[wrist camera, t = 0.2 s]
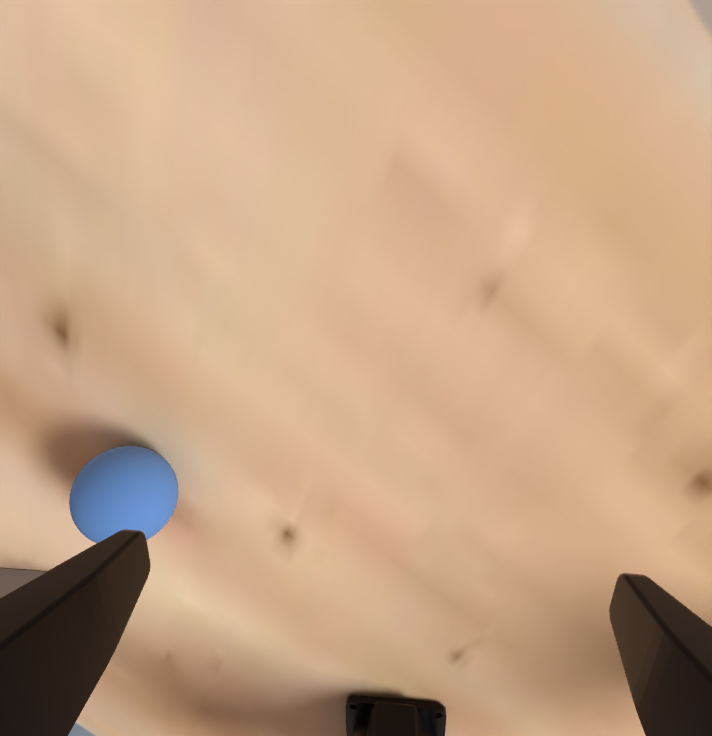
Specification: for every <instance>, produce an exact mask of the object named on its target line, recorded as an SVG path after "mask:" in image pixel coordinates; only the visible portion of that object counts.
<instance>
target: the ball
mask: <svg viewBox="0 0 712 736" xmlns="http://www.w3.org/2000/svg"><path fill="white" fill-rule="evenodd" d="M177 499H178V483H177V479H176V475H175V473H174V471H173V469H172V467H171V466H170V464H169V463H168V462H167V461H166V460H165V459H164V458H163V457H162V456H160V455H159V454H157V453H156V452H154V451H152V450H150V449H147V448H143V447H138V446H122V447H116V448H113V449H110V450H107V451H105V452H103V453H101V454H99V455H97V456H96V457H94V458H93V459H92V460H90V461H89V462H88V463H87V464H86V465H85V466H84V467H83V468H82V470H81V471H80V472H79V474H78V475H77V477H76V479H75V481H74V483H73V485H72V489H71V493H70V501H69V504H70V512H71V516H72V519H73V521H74V523H75V525H76V526H77V528H78V529H79V530H80V532H81V533H82V534H83V535H84V536H86V537H87V538H88V539H90V540H92V541H93V542H95V543H99V542H100V541H102V540H104V539H106V538H108V537H109V536H111V535H113V534H115V533H116V532H118V531H120V530H124V529H128V530H140V531H142V532H143V533H144V534H145V536H146V540H147V539H149V538H150V537H152V536H154V535H155V534H156V533H157V532H159V531H160V530H161V529H162V528H163V527H164V525H165V524H166V523H167V522H168V520H169V519H170V517H171V516H172V514H173V512H174V509H175V507H176V503H177Z"/></svg>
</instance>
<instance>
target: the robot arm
mask: <svg viewBox="0 0 712 736" xmlns="http://www.w3.org/2000/svg"><path fill="white" fill-rule="evenodd" d="M149 572H150V558H149V552H148V546H147V541H146V536H145V534H144V533H143V532H142V531H140V530H128V529H124V530H120V531H118V532H116V533H115V534H113V535H111V536H109V537H108V538H106V539H104V540H102V541H100V542H99V543H97V544H95V545H93V546H92V547H90V548H88V549H86V550H85V551H83V552H81V553H79V554H77V555H76V556H74V557H72V558H70V559H69V560H67V561H65V562H63V563H61V564H60V565H58V566H56V567H54V568H53V569H51V570H49V571H47V572H45V573H44V574H42V575H40V576H38V577H37V578H35V579H33V580H31V581H29V582H28V583H26V584H24V585H22V586H21V587H19V588H17V589H15V590H14V591H12V592H10V593H8V594H6V595H5V596H3V597H1V598H0V736H68V734H69V732H70V731H71V729H72V727H73V725H74V724H75V722H76V720H77V718H78V717H79V715H80V713H81V711H82V709H83V708H84V706H85V704H86V702H87V700H88V699H89V697H90V695H91V693H92V692H93V690H94V688H95V686H96V684H97V683H98V681H99V679H100V677H101V676H102V674H103V672H104V670H105V668H106V667H107V665H108V663H109V661H110V659H111V657H112V655H113V653H114V651H115V649H116V647H117V645H118V643H119V641H120V639H121V636H122V634H123V632H124V630H125V627H126V625H127V623H128V621H129V618H130V616H131V614H132V612H133V609H134V607H135V605H136V603H137V600H138V598H139V596H140V594H141V591H142V589H143V587H144V585H145V582H146V580H147V578H148V575H149ZM609 613H610V621H611V624H612V628H613V631H614V635H615V638H616V642H617V645H618V649H619V652H620V656H621V659H622V663H623V666H624V670H625V673H626V677H627V680H628V684H629V687H630V691H631V694H632V698H633V701H634V704H635V707H636V710H637V713H638V716H639V719H640V722H641V724H642V727H643V730H644V732H645V735H646V736H712V627H711V626H710V625H709V624H707V623H706V622H705V621H703V620H702V619H701V618H700V617H698V616H697V615H696V614H694V613H693V612H692V611H691V610H689V609H688V608H687V607H686V606H684V605H683V604H682V603H680V602H679V601H678V600H677V599H675V598H674V597H673V596H671V595H670V594H669V593H668V592H666V591H665V590H664V589H663V588H661V587H660V586H659V585H657V584H656V583H655V582H654V581H652V580H651V579H650V578H648V577H647V576H645V575H640V574H629V573H623V574H620V575H619V577H618V579H617V582H616V585H615V589H614V593H613V596H612V600H611V604H610V610H609ZM346 725H347V736H445V725H446V709H445V707H444V706H443V705H441V704H435V703H424V702H414V701H403V700H393V699H382V698H372V697H361V696H350V697H348V698H347V702H346Z"/></svg>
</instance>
